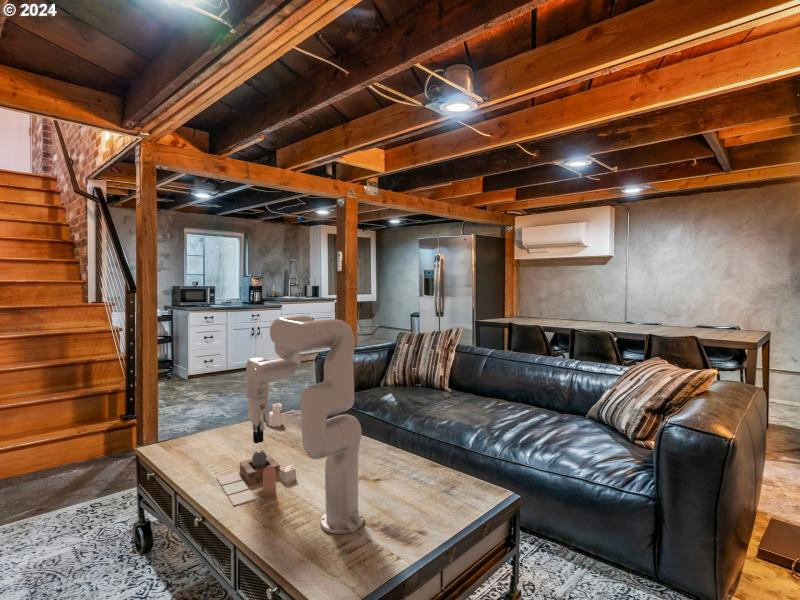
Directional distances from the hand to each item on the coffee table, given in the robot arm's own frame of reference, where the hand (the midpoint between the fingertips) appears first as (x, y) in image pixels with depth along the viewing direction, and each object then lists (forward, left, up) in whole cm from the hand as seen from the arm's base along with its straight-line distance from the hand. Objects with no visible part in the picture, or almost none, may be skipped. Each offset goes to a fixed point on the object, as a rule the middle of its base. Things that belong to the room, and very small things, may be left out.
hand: (258, 441), depth 157 cm
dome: (0, 0, -9) cm, 9 cm away
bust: (+47, -23, -12) cm, 54 cm away
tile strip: (-6, +10, -12) cm, 17 cm away
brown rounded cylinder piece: (-17, +2, -12) cm, 21 cm away
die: (-10, -7, -12) cm, 17 cm away
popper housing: (0, 0, -12) cm, 12 cm away
